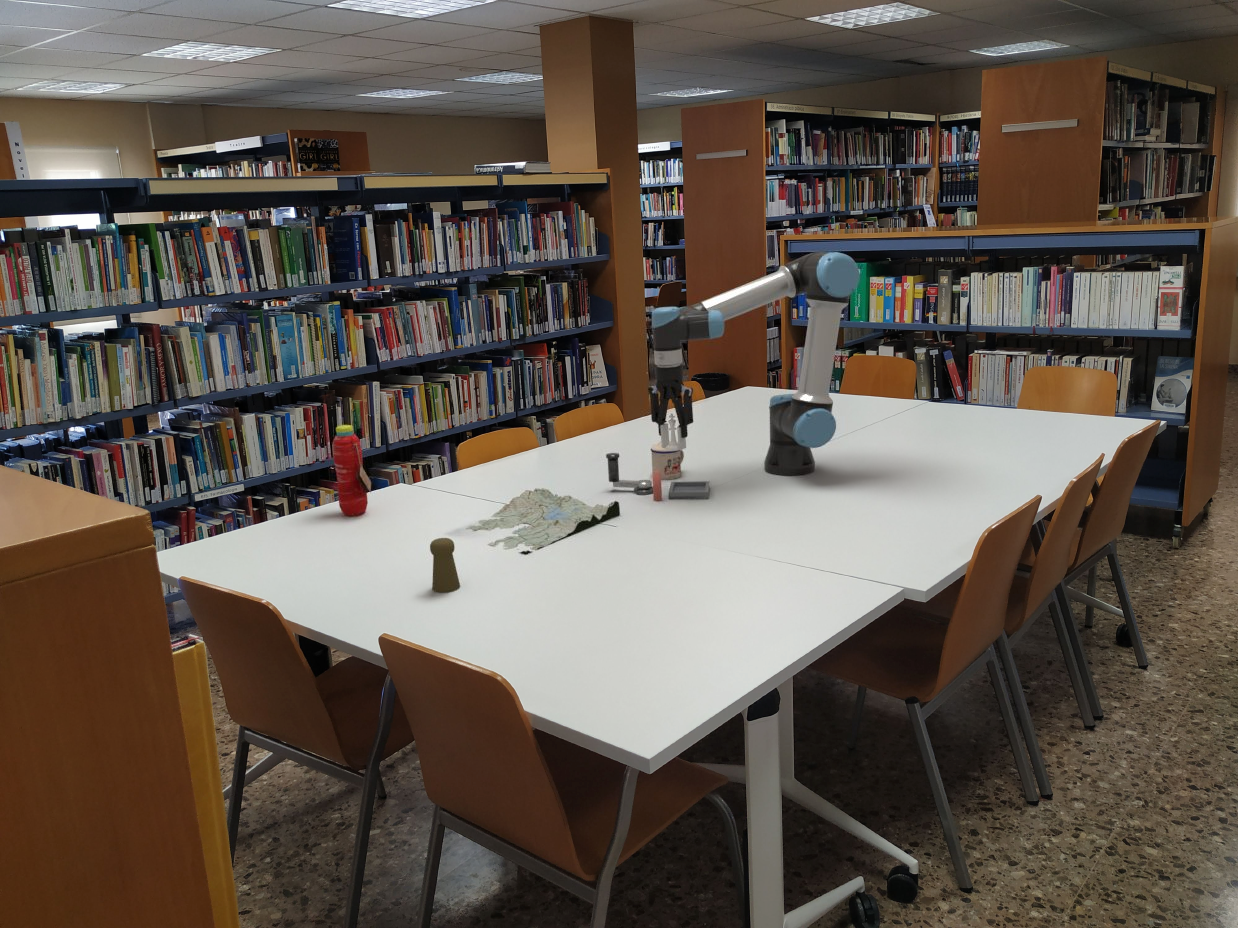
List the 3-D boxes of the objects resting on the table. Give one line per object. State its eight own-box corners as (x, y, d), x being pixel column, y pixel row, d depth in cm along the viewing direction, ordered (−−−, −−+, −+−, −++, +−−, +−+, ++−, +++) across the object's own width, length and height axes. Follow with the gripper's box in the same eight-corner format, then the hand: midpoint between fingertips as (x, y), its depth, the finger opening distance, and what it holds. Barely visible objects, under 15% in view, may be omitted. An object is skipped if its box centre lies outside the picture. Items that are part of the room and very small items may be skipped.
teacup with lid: (667, 481, 276) (665, 443, 273) (645, 476, 282) (643, 439, 279) (694, 473, 283) (693, 436, 280) (672, 468, 290) (671, 432, 287)
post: (662, 498, 259) (661, 470, 257) (661, 500, 257) (660, 473, 255) (653, 498, 260) (652, 470, 258) (653, 501, 257) (651, 473, 255)
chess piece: (671, 446, 262) (668, 411, 259) (686, 447, 259) (683, 412, 257) (661, 450, 258) (659, 415, 256) (676, 451, 255) (674, 416, 253)
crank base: (655, 488, 269) (655, 485, 268) (653, 494, 263) (653, 491, 263) (635, 489, 270) (635, 485, 269) (632, 495, 264) (632, 491, 264)
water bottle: (383, 513, 258) (373, 425, 252) (359, 521, 252) (348, 431, 246) (357, 507, 265) (346, 421, 259) (333, 514, 259) (321, 426, 253)
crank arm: (653, 485, 267) (652, 453, 265) (649, 489, 263) (648, 457, 261) (610, 483, 271) (608, 452, 269) (605, 487, 267) (603, 456, 265)
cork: (433, 583, 205) (428, 536, 202) (461, 581, 205) (456, 533, 202) (430, 593, 199) (425, 545, 196) (459, 591, 199) (454, 543, 197)
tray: (709, 487, 267) (709, 481, 267) (708, 499, 257) (708, 492, 256) (671, 488, 269) (671, 481, 268) (668, 499, 258) (668, 492, 258)
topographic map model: (526, 557, 220) (524, 537, 219) (443, 536, 238) (442, 517, 237) (620, 517, 247) (619, 499, 245) (539, 500, 265) (538, 484, 264)
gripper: (633, 366, 255) (640, 448, 261) (688, 368, 244) (693, 454, 250) (649, 361, 261) (655, 442, 267) (704, 363, 250) (708, 447, 256)
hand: (673, 447), depth 259 cm, fingers closed on chess piece, 5 cm apart
